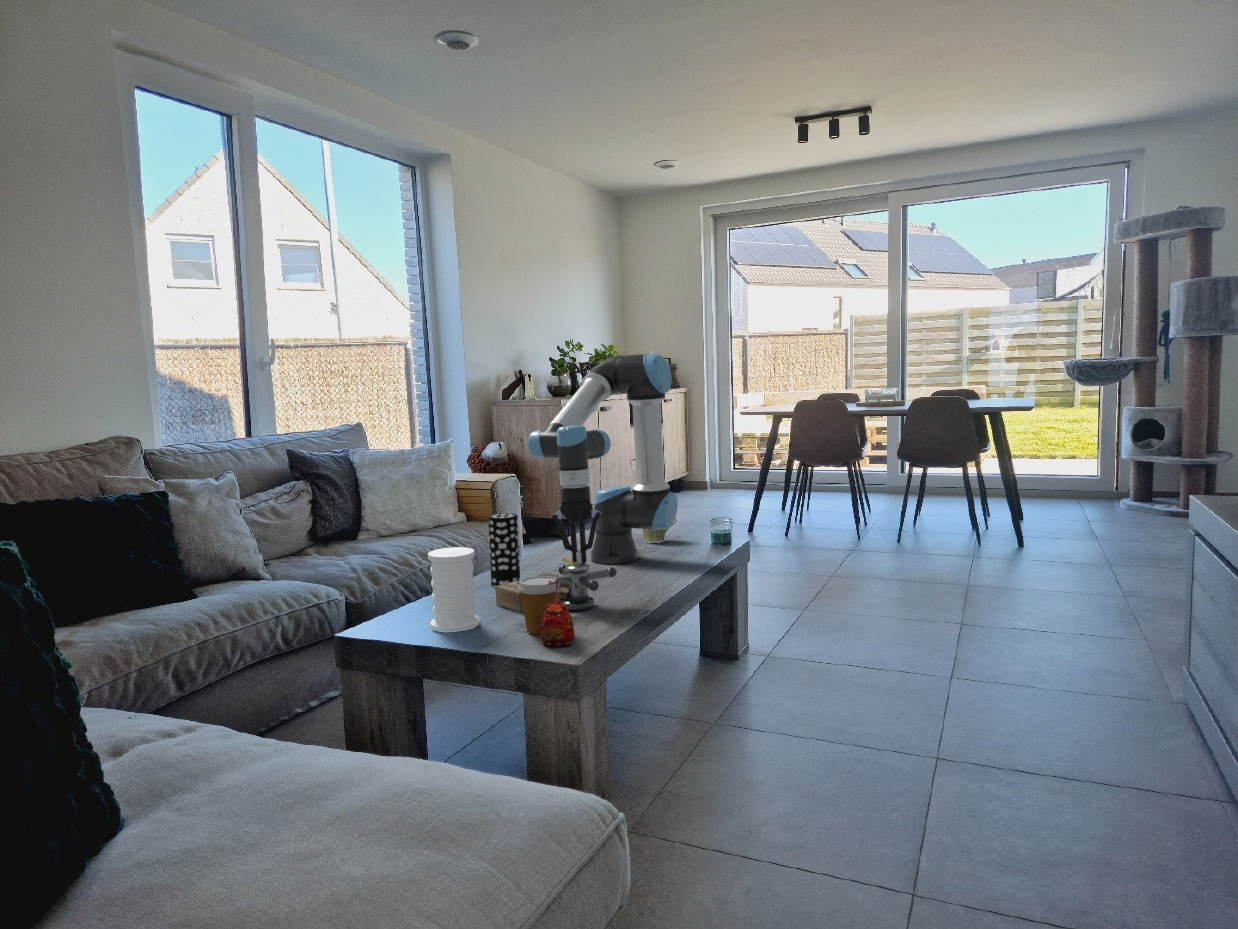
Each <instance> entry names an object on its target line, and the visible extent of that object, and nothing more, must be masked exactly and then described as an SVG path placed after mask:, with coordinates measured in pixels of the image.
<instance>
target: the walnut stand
mask: <svg viewBox="0 0 1238 929" xmlns="http://www.w3.org/2000/svg"><path fill="white" fill-rule="evenodd" d="M538 576H551V577H557V574H555V573H550V572H549V573H548V572H547V573H544V574H540V575H539V574H538ZM558 576H560V575H559V574H558ZM520 580H521V579H520ZM520 580H519V581H515V582H511V583H506V584H502V585H498V586H496V588H495V603H496V606H498V605H499V607H502V608H505V607H507V608H506V609H508V608H510V609H509V610H511V609H514V610H516V611H515V612H518V611H519V613H521V612H520V611H522V612H524V611H523V605H522V598H521V593H520V591H519V589H518V586H519V584H520ZM558 591H559V595H558V597H559V600H560V599H562V598H565V599H568V598H569V590H568V583H564V584H559V587H558ZM514 610H513V611H514Z"/></svg>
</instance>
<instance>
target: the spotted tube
mask: <svg viewBox="0 0 1238 929" xmlns="http://www.w3.org/2000/svg"><path fill="white" fill-rule="evenodd" d="M518 521H519V520H518V514H516V513H507V512H505V513H504V512H503V513H494V514H489V515H488V516H487V525H488V526H487V527H488V544H489V546H488V547H489V564H490V565H489V566H490V567H489V568H490V585H491V586H490V587H492V588H494V589H496V586H498V585H502V584H506V583H511V582H515V581H519V580H521V568H520V567H521V566H520V564H521V563H520V544H519V539H520V538H519V522H518Z"/></svg>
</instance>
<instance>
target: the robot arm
mask: <svg viewBox="0 0 1238 929" xmlns="http://www.w3.org/2000/svg"><path fill="white" fill-rule="evenodd" d="M672 381H673V380H672V372H671V367H670V365H669V363H668V361H667V360H666V358H665V357H664V356H662V355H661V354H658V353H657V354H656V353H644V354H628V355H627V354H624V355H623V354H621V355H620V354H619V355H613V356H610V357H608V358H606V359H604V360H603V361H601V362H599V363H598V364H596V365H595V366H594V367H593V368H591V369H590V370H589V371H588V372H587V373H586V374H585V376H584V377H583V379H582V381H581V386H579V388H578V389H577V390H576V391H575V393H574V394H573V395H572V396H571V398H569V400H568V401H567V402H566V403H565V405H564V406H563V407H562V408H561V410H560V411H559V412H558V413H557V414H556V416H555V417H554V418H553V420H552V421H550V423H549V424H548V425H547V427H546V428H545V429H544V430H542V429H540V430H539V429H538V430H534V431H532V432H531V433H530V435H529V437H528V439H527V448H528V450H529V453H530V455H531V456H533V457H534V458H540V459H545V460H546V459H558V470H559V485H560V506H559V510H558V511H556V512H554V513H553V514H552V516H551V518H552V519H553V521H554V522H555V523H556V527H557V528H558V532H559V536H560V538H561V541H562V544H563V547H564V550H566V551H570V552H571V559H572V560H574V561H576V562H577V564H578V563H581V564H587V561H588V560H587V550H590V549H592V550H591V551H590V561H591V562H594V563H597V564H603V565H618V564H619V565H621V564H628V563H633V562H636V560H637V561H638V559H639V556H638V554H639V552H638V549H637V548H636V544H635V541H634V538H633V532H632V529H638V530H639V529H640V530H642V529H653V530H666V529H668V528H669V527H670V526H671V525H672V524H673V523H674V522H675V517H676V518H677V513H678V497H677V495H676V493H674V492H673V491H671V489H670V488H671V487H670V484H669V483H668V482H667V481H666V480H665V469H664V468H665V467H664V465H665V464H664V463H665V462H664V445H663V425H662V410H661V408H662V407H661V406H662V405H661V404H662V403H663V401H664V400H665V399H666V393H668V392H670V390H671V388H672ZM616 394H626V400H627V402H628V403H630V404H631V405H632V420H633V421H632V422H633V436H634V437H633V438H634V439H633V440H634V454H635V457H634V458H635V471H636V472H635V473H636V483H635V484H634V485H633V486H632V488H631V486H628V485H623V486H622V485H620V486H614V487H613V486H612V487H607V488H602V489H599V490H597V491H595V493H594V496H593V497H594V498H593V499H594V500H593V501H594V503H593V504H592V502H591V488H590V486H589V485H588V484H590V474H589V470H590V469H589V460H594V459H599V458H602V457H605V455H607V454H608V453H609V452H610V450H611V446H612V445H611V444H612V443H611V439H610V436H609V435H608V434H607V433H606V432H605V431H604V430H601V429H591V430H587V429H586V427H585V426H584V424H585V423H586V422H587V420H588V419H589V418H590V417H591V415H592V414H593V413H594V411H595V410H596V409H597V408H598V406H599V405H600V403H602V402H604V401H606V400H607V399H609V398H610V396H611V395H616ZM590 513H591V518H592V520H591V521H592V522H591V525H590V530H589V535H588V541H587V542H586V540H587V538H586V521H587V519H588V517H589V515H590ZM562 515H563V516H562ZM563 517H564V518H565V519H566V520H567V521H568V522H569V524H568V525H569V533H570V540H569V537H568V534H567V531H566V528H565V526H564V522H563V520H562V519H563ZM576 522H578V526H579V529H578V530H579V546H580V547H579V548H580V549H578V539H577V527H576ZM672 526H673V525H672ZM672 526H671V527H672ZM671 527H670V528H671ZM670 528H669V529H670ZM669 529H668V530H669Z"/></svg>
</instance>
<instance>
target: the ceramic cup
mask: <svg viewBox="0 0 1238 929" xmlns="http://www.w3.org/2000/svg"><path fill="white" fill-rule="evenodd" d="M676 523H677V516H676V517H675V519H674V522H673V524H672V525H671V526H670V527H669V528H668V529H666V530H653V529H641V531H642V534H643V539H644V543H645V542H649V543H652V542H660V541H663V540H664V541H665V535H666V533H667V531H668V530H669V529H670V528H671V527H673V526H674V525H675V524H676Z"/></svg>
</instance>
